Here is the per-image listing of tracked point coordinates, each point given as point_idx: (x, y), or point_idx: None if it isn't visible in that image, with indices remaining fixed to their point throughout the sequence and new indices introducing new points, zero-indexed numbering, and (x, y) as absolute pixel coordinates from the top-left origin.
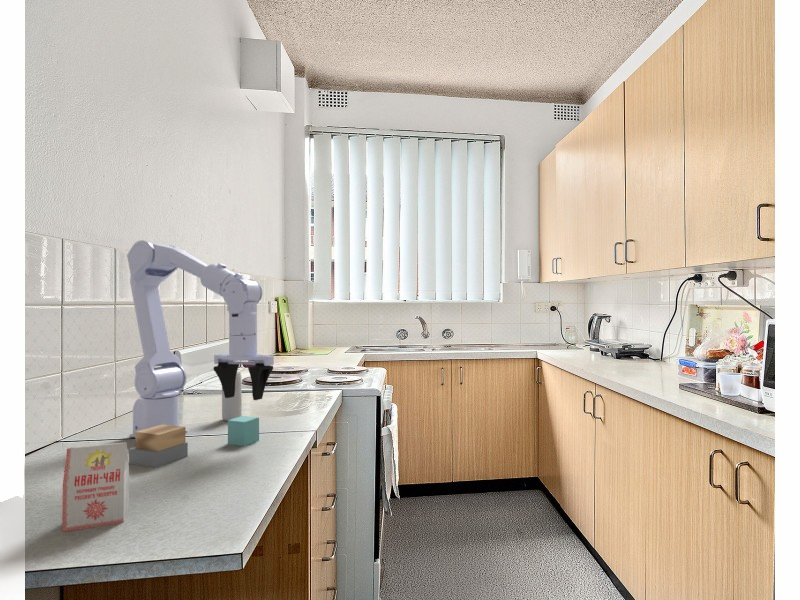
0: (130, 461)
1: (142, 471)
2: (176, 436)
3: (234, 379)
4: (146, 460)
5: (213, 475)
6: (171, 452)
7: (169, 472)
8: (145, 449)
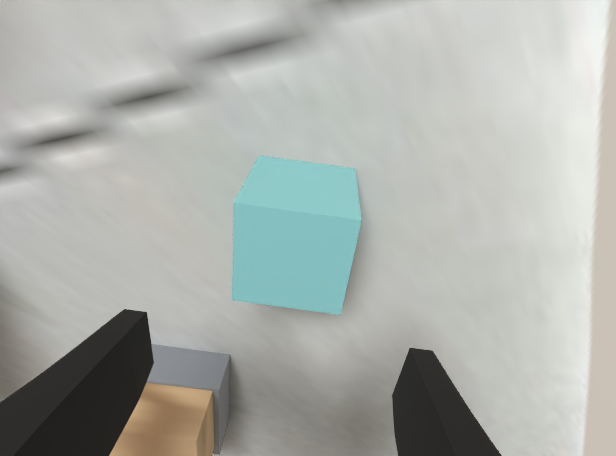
0: None
1: None
2: (204, 439)
3: (39, 446)
4: None
5: None
6: (222, 413)
7: (287, 434)
8: None
